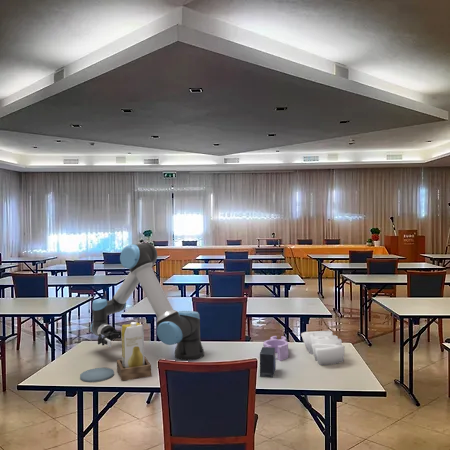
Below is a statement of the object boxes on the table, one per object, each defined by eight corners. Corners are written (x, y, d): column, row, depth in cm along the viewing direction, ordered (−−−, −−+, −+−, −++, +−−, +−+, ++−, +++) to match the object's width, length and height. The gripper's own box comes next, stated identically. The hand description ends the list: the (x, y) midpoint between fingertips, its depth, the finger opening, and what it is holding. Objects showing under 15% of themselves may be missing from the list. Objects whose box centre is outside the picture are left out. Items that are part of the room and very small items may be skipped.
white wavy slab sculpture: (348, 367, 206) (348, 345, 206) (313, 368, 206) (312, 346, 206) (330, 345, 241) (329, 326, 241) (299, 346, 241) (299, 327, 241)
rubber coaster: (111, 368, 214) (111, 365, 214) (116, 378, 200) (116, 376, 200) (79, 373, 208) (79, 370, 208) (81, 384, 194) (81, 381, 194)
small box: (274, 377, 196) (273, 354, 196) (259, 377, 197) (259, 353, 197) (276, 369, 206) (275, 347, 206) (262, 368, 208) (261, 346, 207)
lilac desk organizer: (267, 348, 240) (267, 335, 239) (291, 349, 236) (290, 336, 236) (261, 360, 220) (261, 346, 220) (286, 361, 217) (286, 347, 217)
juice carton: (127, 378, 200) (125, 325, 200) (121, 373, 207) (119, 321, 206) (146, 373, 205) (144, 322, 205) (139, 368, 212) (138, 318, 211)
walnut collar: (145, 366, 215) (144, 356, 215) (151, 376, 202) (151, 365, 202) (116, 370, 210) (116, 360, 210) (121, 380, 197) (121, 369, 197)
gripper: (129, 335, 238) (147, 343, 221) (83, 344, 223) (99, 354, 206) (129, 321, 238) (147, 328, 221) (83, 329, 223) (98, 338, 206)
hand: (124, 341), depth 213 cm, fingers open, 13 cm apart
